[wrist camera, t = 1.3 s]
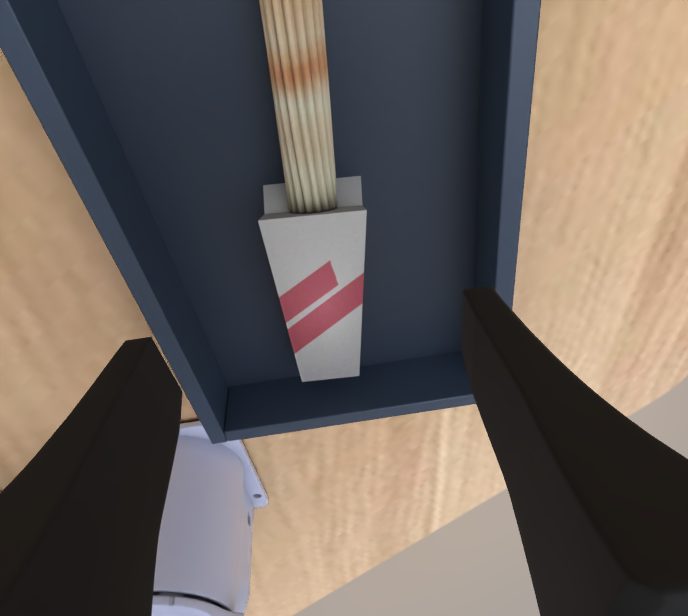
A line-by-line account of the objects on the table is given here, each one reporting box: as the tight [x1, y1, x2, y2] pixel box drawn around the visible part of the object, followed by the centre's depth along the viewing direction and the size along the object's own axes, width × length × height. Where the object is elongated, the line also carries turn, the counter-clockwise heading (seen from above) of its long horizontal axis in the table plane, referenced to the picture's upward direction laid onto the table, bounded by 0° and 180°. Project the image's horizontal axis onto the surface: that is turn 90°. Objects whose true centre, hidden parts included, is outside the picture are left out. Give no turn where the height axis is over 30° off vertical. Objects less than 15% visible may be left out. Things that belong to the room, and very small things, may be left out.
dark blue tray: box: [0, 0, 541, 444], centre depth 19 cm, size 24×15×3 cm, turn 8°
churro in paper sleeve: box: [258, 0, 367, 382], centre depth 19 cm, size 4×3×20 cm
